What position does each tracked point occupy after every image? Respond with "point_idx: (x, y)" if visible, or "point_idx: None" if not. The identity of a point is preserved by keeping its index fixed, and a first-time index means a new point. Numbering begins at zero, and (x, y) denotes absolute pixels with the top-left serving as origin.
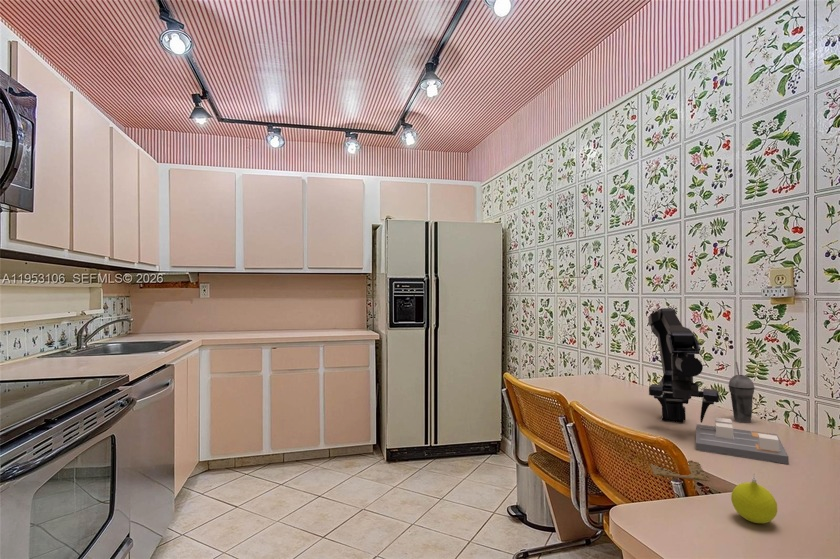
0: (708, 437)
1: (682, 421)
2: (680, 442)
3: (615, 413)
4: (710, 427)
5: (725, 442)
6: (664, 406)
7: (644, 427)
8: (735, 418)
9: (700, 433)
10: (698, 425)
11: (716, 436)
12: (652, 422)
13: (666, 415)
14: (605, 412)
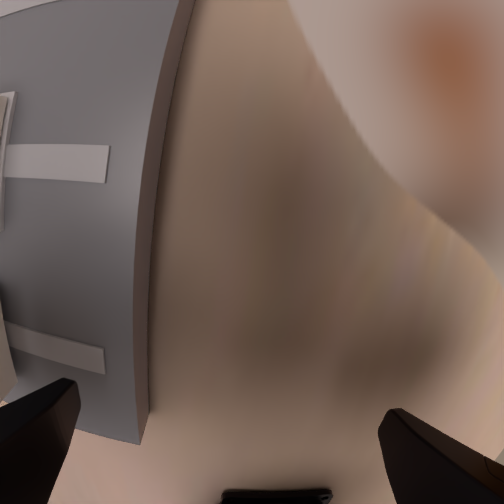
0: (66, 60)
1: (227, 501)
2: (302, 44)
3: None
4: None
5: (6, 7)
6: (486, 472)
7: (466, 340)
8: None
9: (105, 148)
10: (123, 419)
11: (6, 99)
12: None
13: (412, 421)
14: (499, 451)
